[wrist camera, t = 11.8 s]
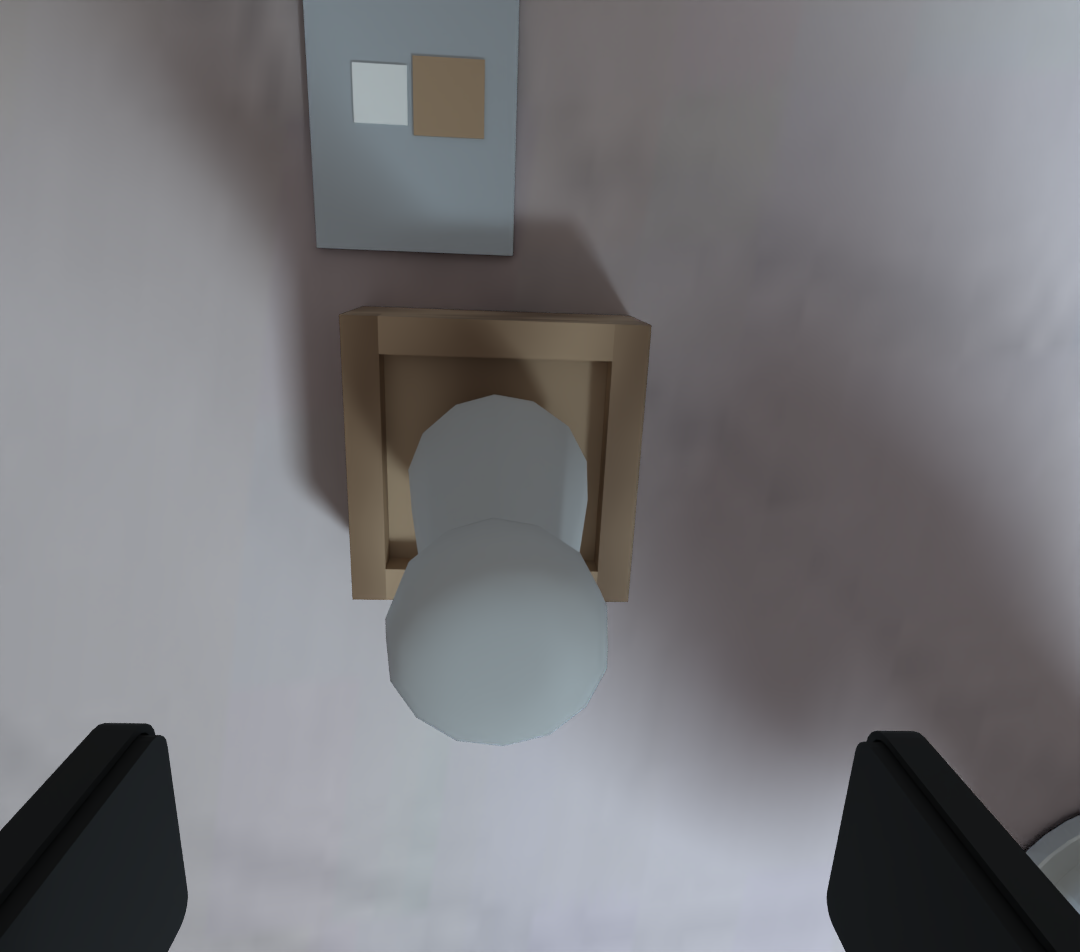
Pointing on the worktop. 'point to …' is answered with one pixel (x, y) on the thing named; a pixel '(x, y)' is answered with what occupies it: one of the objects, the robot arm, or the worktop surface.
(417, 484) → the salt shaker
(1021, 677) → the worktop surface
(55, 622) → the worktop surface
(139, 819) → the robot arm
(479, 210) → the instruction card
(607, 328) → the wooden crate
